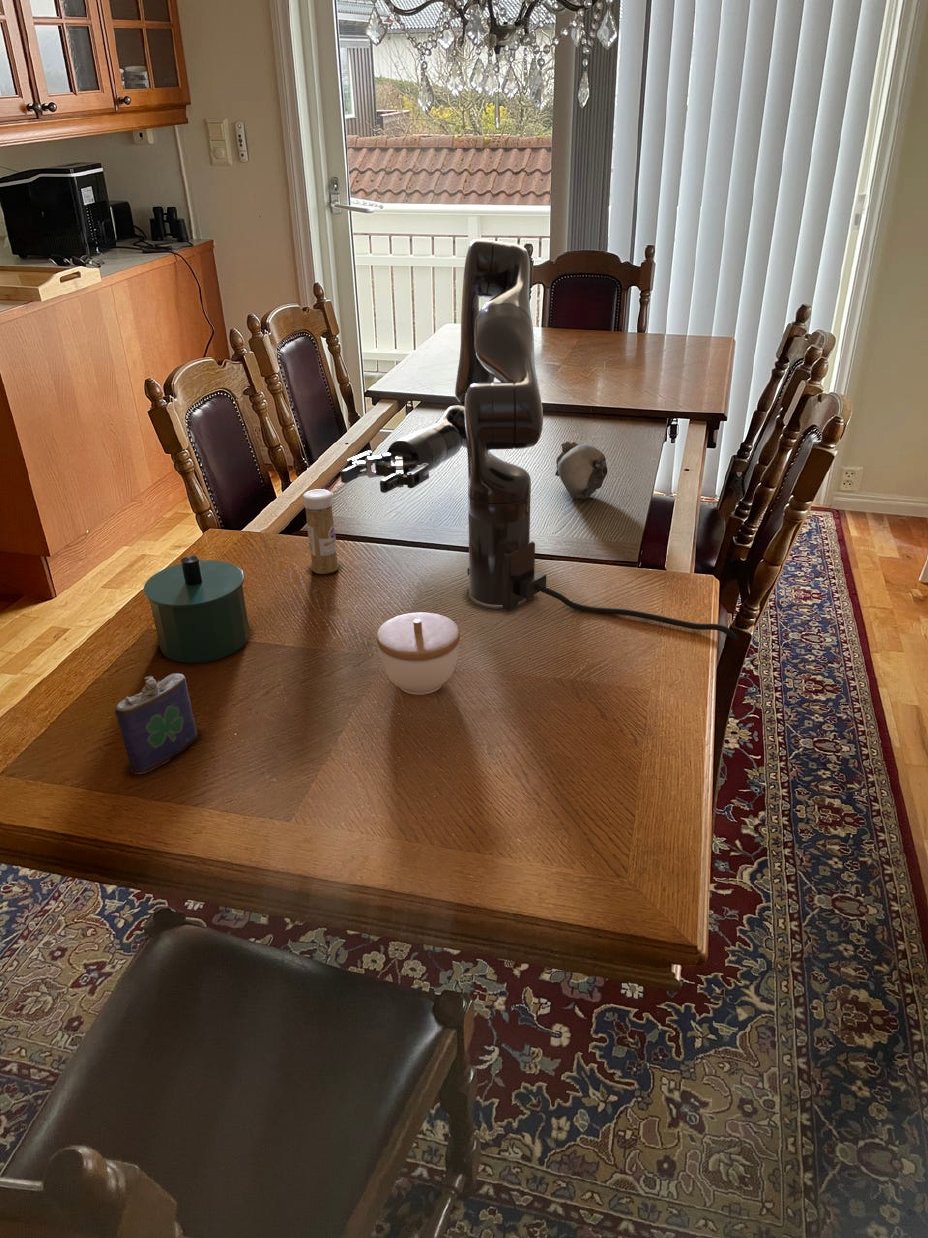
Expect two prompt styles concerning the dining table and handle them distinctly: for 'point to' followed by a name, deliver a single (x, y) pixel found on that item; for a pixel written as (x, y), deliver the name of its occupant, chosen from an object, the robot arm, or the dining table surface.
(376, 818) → the dining table surface
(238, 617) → the pot
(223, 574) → the pot lid
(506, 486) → the robot arm
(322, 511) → the sprinkles bottle
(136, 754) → the flask
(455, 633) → the trinket box
